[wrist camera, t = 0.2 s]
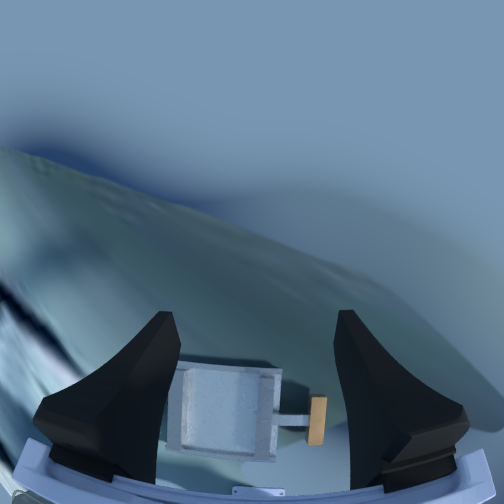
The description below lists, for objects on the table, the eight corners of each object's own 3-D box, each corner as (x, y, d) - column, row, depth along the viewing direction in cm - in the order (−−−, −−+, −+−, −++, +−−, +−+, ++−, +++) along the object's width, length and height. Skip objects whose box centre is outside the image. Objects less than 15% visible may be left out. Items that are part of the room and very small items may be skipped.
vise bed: (274, 456, 36) (275, 468, 32) (170, 445, 37) (160, 454, 33) (281, 367, 41) (283, 370, 36) (173, 359, 42) (163, 359, 37)
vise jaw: (317, 453, 35) (320, 460, 32) (254, 452, 35) (254, 460, 33) (323, 377, 39) (327, 379, 36) (259, 375, 39) (259, 378, 36)
